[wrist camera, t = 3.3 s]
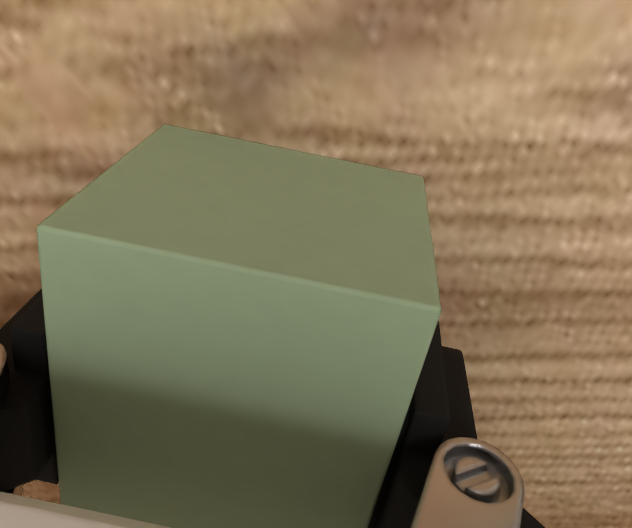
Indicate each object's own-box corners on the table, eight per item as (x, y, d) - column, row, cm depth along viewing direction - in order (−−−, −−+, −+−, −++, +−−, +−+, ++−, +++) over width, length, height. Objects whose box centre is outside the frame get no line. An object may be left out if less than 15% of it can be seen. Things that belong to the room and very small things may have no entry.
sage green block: (424, 175, 11) (442, 309, 7) (351, 437, 14) (335, 625, 10) (163, 122, 11) (33, 224, 7) (154, 396, 14) (64, 566, 10)
